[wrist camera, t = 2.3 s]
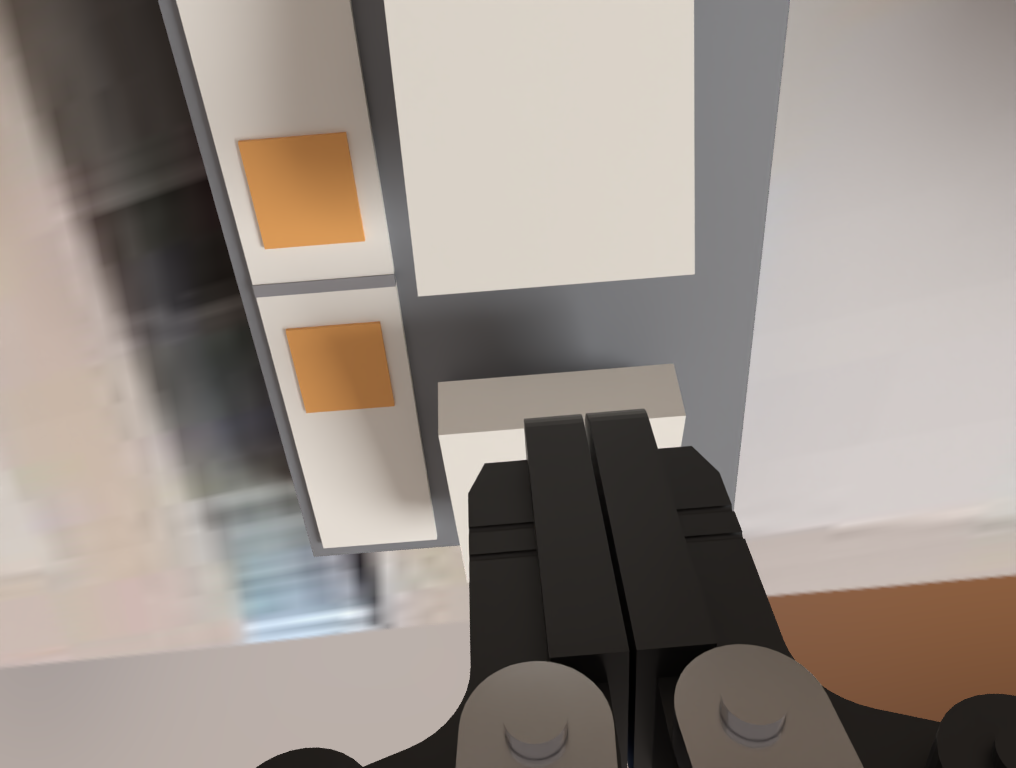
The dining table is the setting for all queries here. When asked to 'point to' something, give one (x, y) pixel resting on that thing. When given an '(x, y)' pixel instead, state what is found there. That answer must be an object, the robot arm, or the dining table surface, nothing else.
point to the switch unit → (390, 264)
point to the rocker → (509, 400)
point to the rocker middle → (545, 140)
